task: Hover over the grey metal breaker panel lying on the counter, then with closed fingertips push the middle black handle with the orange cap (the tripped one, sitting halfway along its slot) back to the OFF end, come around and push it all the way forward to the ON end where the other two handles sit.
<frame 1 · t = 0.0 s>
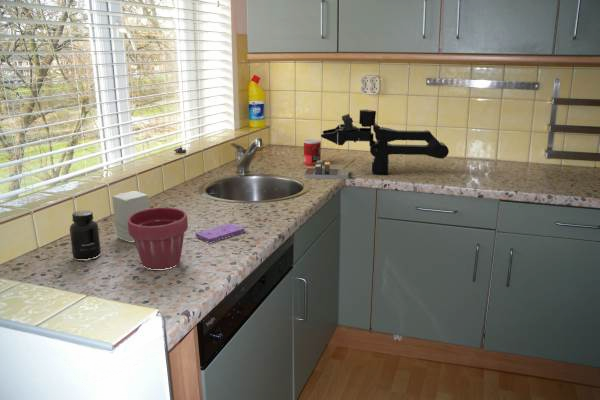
hand: (322, 133, 216), 17 cm above the worktop, tool horizontal, fingers open, 9 cm apart
supplement box: (134, 237, 146), on the worktop
tripped breaker handle: (327, 166, 214), point 4 cm above the worktop, slide at 3.5 cm
plant pot: (161, 264, 128), on the worktop
sponges: (220, 236, 148), on the worktop
canned food: (312, 164, 235), on the worktop
supplement bottle: (87, 257, 132), on the worktop
breaker panel: (327, 175, 215), on the worktop
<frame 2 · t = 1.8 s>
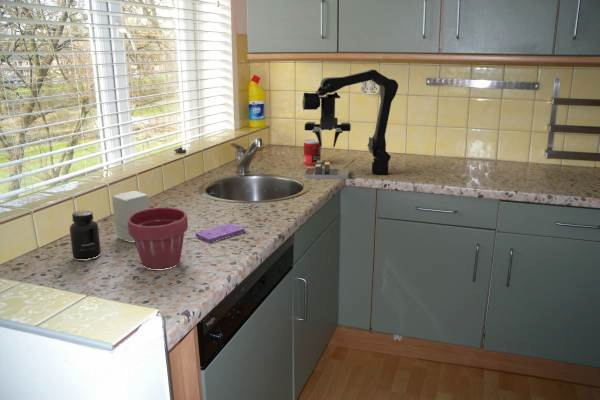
hand: (327, 147, 211), 12 cm above the worktop, tool pointing down, fingers open, 5 cm apart
nothing on the worktop moved.
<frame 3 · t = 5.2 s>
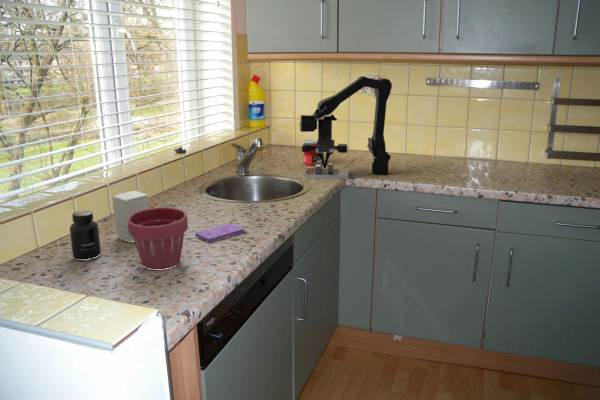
hand: (324, 168, 214), 3 cm above the worktop, tool pointing down, fingers closed
tripped breaker handle: (330, 166, 214), point 4 cm above the worktop, slide at 2.0 cm, touching gripper
everything else where it was.
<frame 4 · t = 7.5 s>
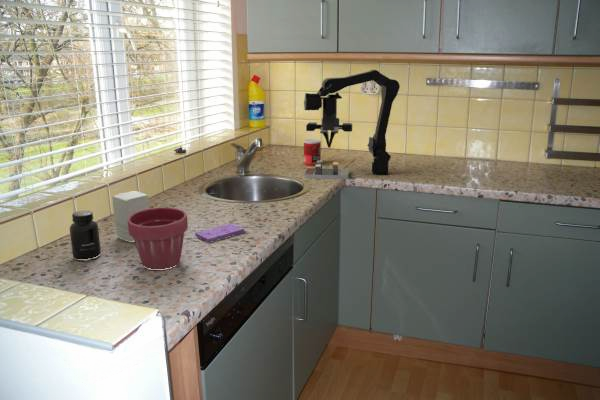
hand: (329, 147, 211), 12 cm above the worktop, tool pointing down, fingers closed
tripped breaker handle: (335, 167, 213), point 4 cm above the worktop, slide at -0.1 cm
everything else where it was.
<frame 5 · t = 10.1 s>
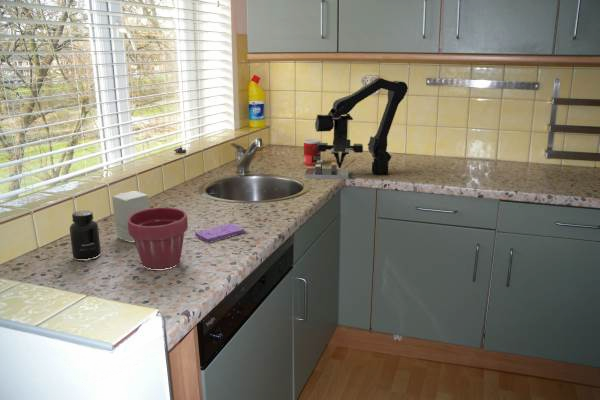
hand: (339, 167, 213), 3 cm above the worktop, tool pointing down, fingers closed
tripped breaker handle: (334, 167, 213), point 4 cm above the worktop, slide at 0.6 cm, touching gripper
everything else where it was.
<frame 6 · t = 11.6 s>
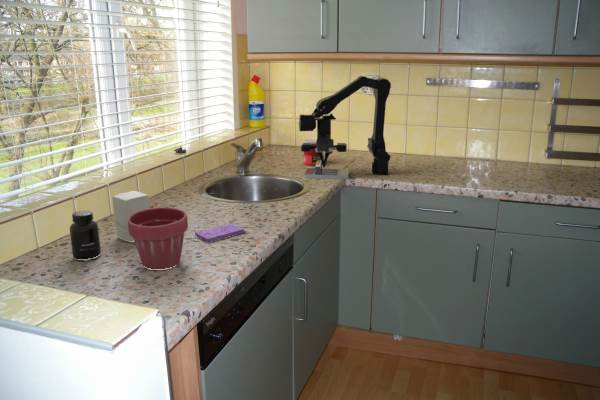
hand: (324, 167, 214), 3 cm above the worktop, tool pointing down, fingers closed
tripped breaker handle: (318, 166, 214), point 4 cm above the worktop, slide at 7.1 cm, touching gripper
everything else where it was.
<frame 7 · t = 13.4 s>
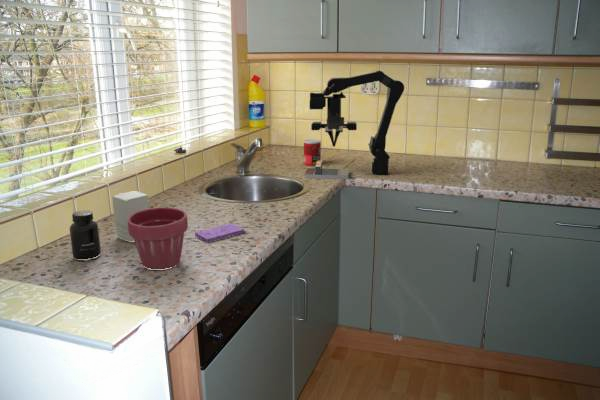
hand: (334, 146, 214), 12 cm above the worktop, tool pointing down, fingers closed
tripped breaker handle: (318, 166, 214), point 4 cm above the worktop, slide at 7.1 cm
everything else where it was.
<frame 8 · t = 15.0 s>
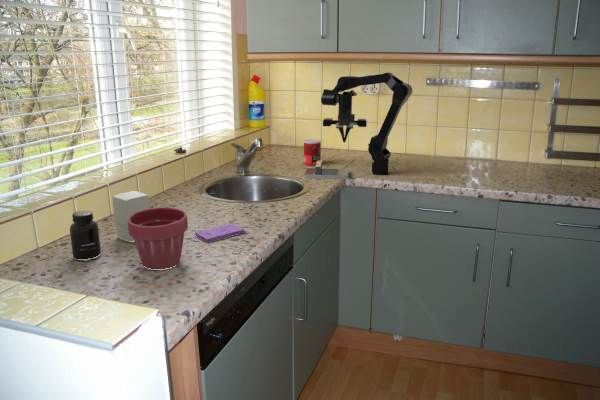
hand: (344, 142, 222), 12 cm above the worktop, tool pointing down, fingers closed
nothing on the worktop moved.
at the end: tripped breaker handle slide at 7.1 cm; the gripper is holding nothing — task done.
